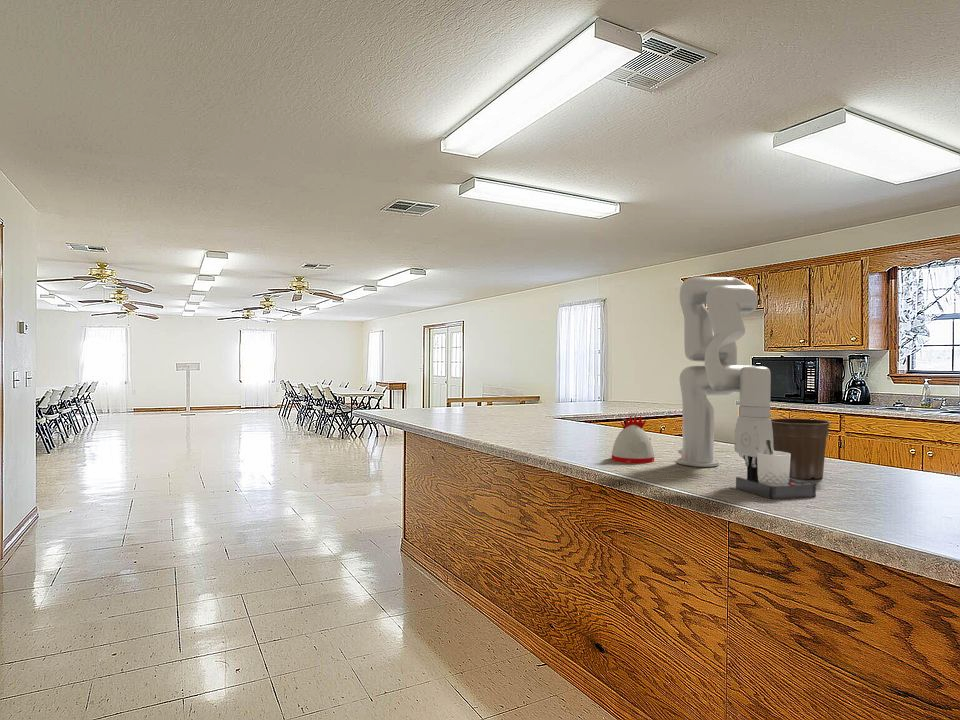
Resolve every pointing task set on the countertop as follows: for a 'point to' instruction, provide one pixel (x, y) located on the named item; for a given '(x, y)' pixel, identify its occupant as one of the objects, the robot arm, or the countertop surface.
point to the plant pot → (802, 445)
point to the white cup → (774, 468)
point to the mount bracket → (777, 489)
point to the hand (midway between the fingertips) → (754, 481)
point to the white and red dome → (633, 444)
